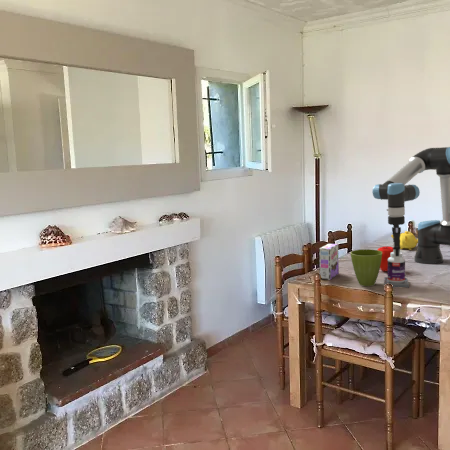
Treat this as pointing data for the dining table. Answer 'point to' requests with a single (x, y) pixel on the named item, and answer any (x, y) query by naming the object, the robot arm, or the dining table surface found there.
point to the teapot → (407, 240)
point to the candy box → (328, 261)
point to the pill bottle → (396, 269)
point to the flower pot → (366, 265)
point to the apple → (385, 257)
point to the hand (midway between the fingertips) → (396, 259)
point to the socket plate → (404, 284)
